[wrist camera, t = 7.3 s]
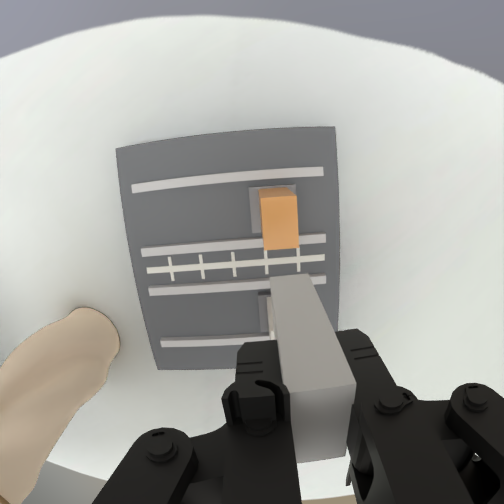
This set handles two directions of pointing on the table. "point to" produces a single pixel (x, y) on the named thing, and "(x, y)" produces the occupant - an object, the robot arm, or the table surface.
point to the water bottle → (48, 392)
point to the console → (224, 235)
